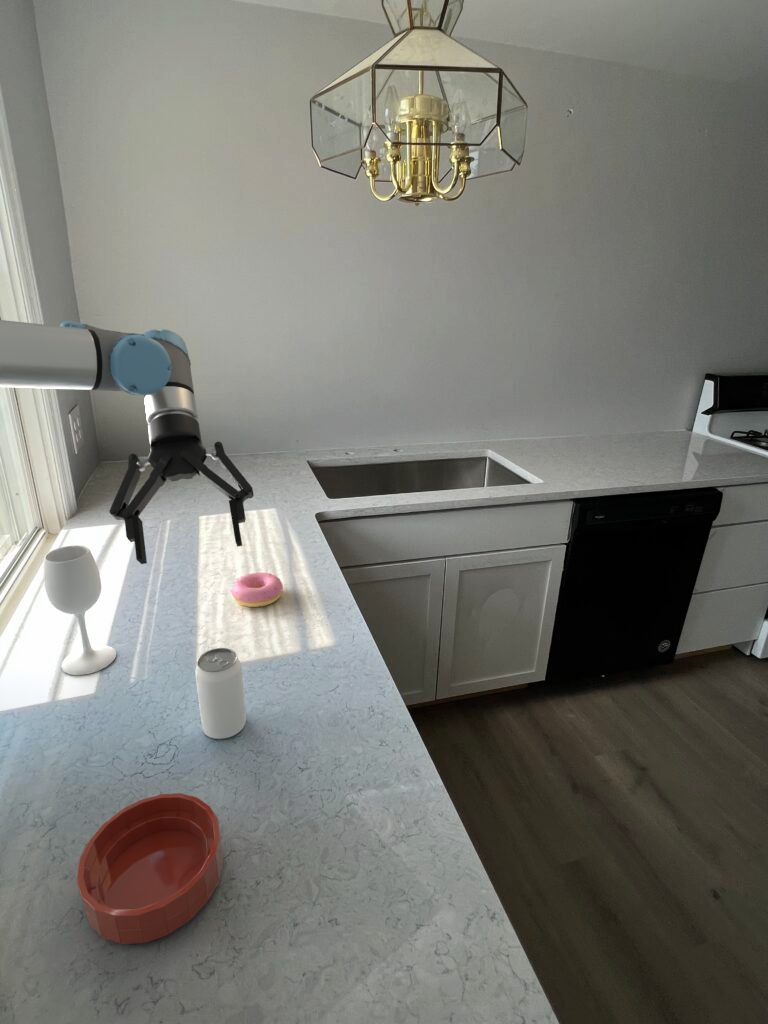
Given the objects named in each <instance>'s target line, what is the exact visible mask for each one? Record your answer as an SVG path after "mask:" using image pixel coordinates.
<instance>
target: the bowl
mask: <svg viewBox="0 0 768 1024" xmlns="http://www.w3.org/2000/svg"><path fill="white" fill-rule="evenodd" d="M223 866H224V855H223V847H222V840H221V833H220V824H219V819H218V817H217V815H216V813H215V812H214V811H213V809H212V807H211V806H210V805H208V803H206V802H205V801H203V800H201V799H200V798H198V797H197V796H193V795H190V794H185V793H182V792H178V793H177V792H176V793H175V792H174V793H159V794H155V795H153V796H149V797H145V798H141V799H139V800H137V801H135V802H133V803H131V804H130V805H127V806H125V807H123V808H121V809H120V810H119V811H118V812H116V813H115V814H114V815H111V817H110V818H108V819H107V820H106V821H104V822H103V823H102V824H101V826H100V827H99V828H98V829H97V830H96V832H95V833H94V834H93V835H92V836H91V837H90V838H89V840H88V842H87V844H86V846H85V848H84V849H83V851H82V853H81V856H80V858H79V860H78V867H77V873H76V882H77V886H78V890H79V894H80V898H81V903H82V905H83V910H84V913H85V916H86V919H87V923H88V925H89V926H90V927H91V928H92V929H93V930H94V931H95V933H96V934H98V936H100V937H101V938H102V939H104V940H107V941H110V942H114V943H116V944H119V945H130V944H133V945H134V944H146V943H149V942H152V941H155V940H157V939H160V938H163V937H166V936H169V935H170V934H172V933H174V932H175V931H176V930H178V929H179V928H181V927H183V926H184V925H186V924H187V923H189V922H190V921H191V920H192V919H193V918H195V916H196V915H197V914H198V913H199V912H200V911H201V910H202V909H203V908H204V907H205V905H206V904H207V903H208V902H209V900H210V899H211V897H212V895H213V894H214V891H215V890H216V888H217V886H218V885H219V882H220V879H221V876H222V869H223Z"/></svg>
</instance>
